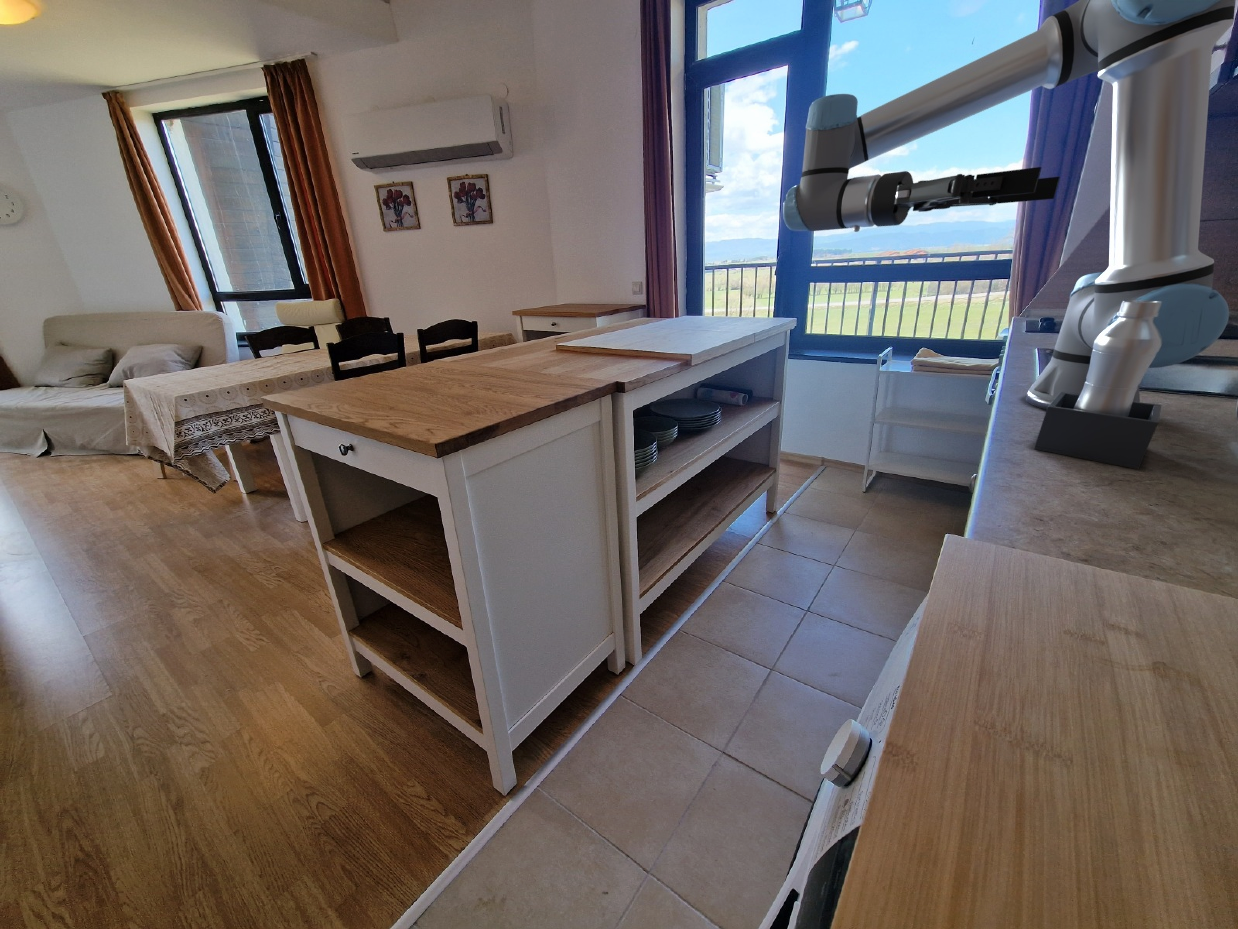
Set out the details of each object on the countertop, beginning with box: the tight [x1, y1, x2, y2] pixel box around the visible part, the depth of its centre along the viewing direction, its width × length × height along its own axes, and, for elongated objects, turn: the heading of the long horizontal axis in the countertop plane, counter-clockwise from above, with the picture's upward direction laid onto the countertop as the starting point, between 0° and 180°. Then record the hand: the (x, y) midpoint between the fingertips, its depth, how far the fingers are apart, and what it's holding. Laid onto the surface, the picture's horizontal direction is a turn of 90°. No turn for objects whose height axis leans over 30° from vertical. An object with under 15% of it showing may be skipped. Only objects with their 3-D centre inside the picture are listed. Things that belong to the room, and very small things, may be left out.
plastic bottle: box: [1073, 300, 1162, 417], centre depth 67 cm, size 6×7×20 cm
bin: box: [1033, 392, 1162, 470], centre depth 69 cm, size 11×11×6 cm
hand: (1048, 184), depth 63 cm, fingers open, 13 cm apart
